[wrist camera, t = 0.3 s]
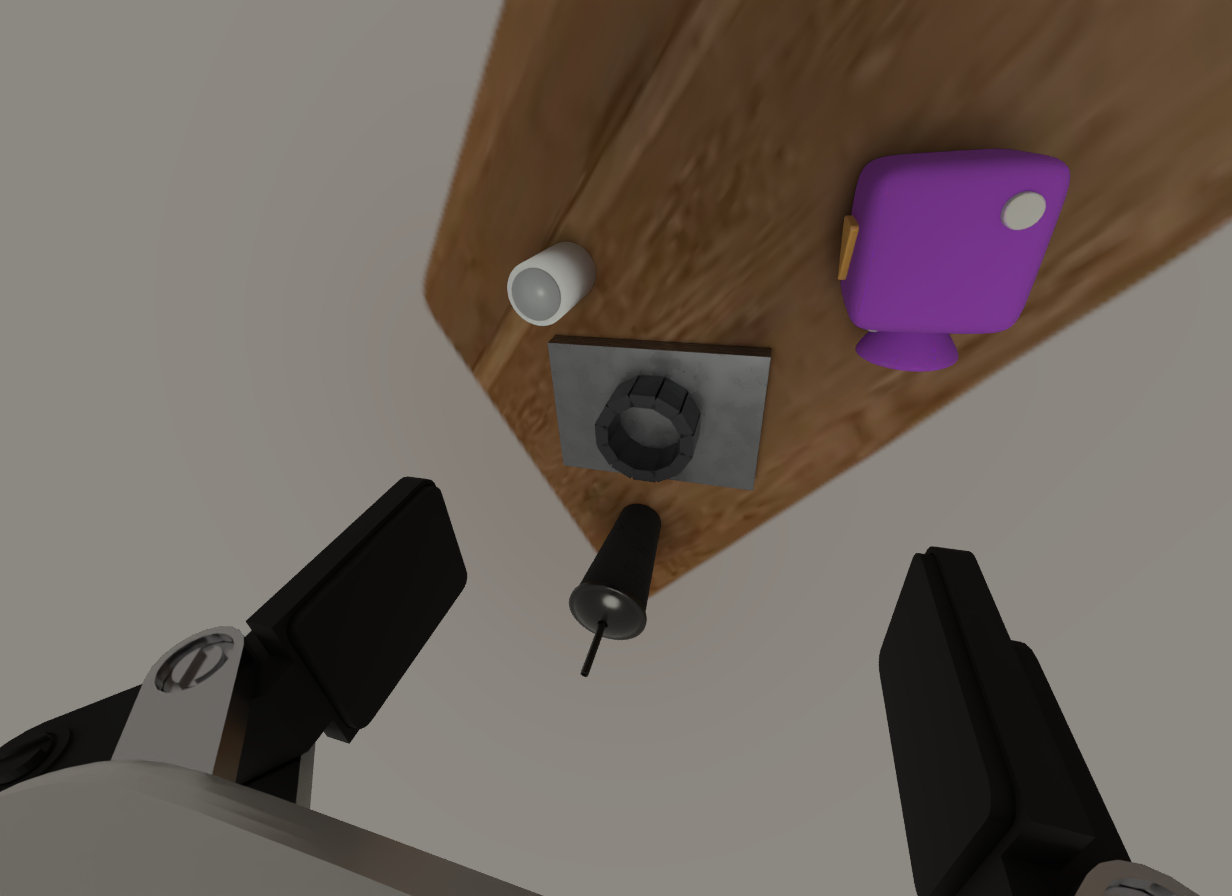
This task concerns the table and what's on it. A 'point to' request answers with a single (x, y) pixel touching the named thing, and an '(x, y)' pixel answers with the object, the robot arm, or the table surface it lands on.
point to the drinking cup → (618, 580)
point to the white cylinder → (551, 283)
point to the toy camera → (945, 248)
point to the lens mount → (660, 408)
